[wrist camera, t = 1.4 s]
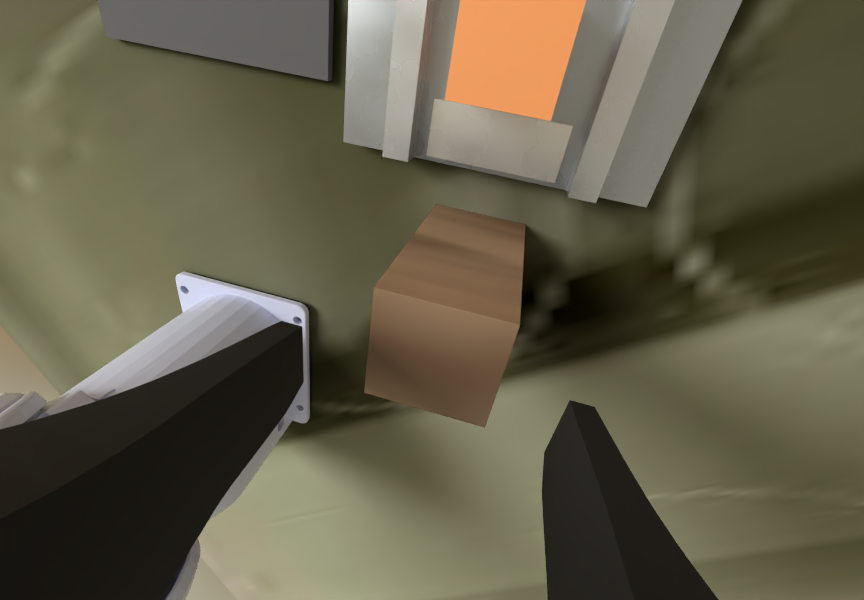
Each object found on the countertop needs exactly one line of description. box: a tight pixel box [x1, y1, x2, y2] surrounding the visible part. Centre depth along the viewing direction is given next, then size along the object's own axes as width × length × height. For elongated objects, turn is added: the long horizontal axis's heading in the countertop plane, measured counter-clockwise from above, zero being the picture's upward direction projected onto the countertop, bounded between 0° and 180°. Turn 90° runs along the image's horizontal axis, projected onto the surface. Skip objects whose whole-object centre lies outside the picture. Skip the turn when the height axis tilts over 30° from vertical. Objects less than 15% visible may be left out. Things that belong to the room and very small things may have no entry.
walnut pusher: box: [364, 204, 525, 427], centre depth 15 cm, size 4×4×8 cm
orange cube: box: [445, 0, 586, 121], centre depth 11 cm, size 3×3×3 cm
